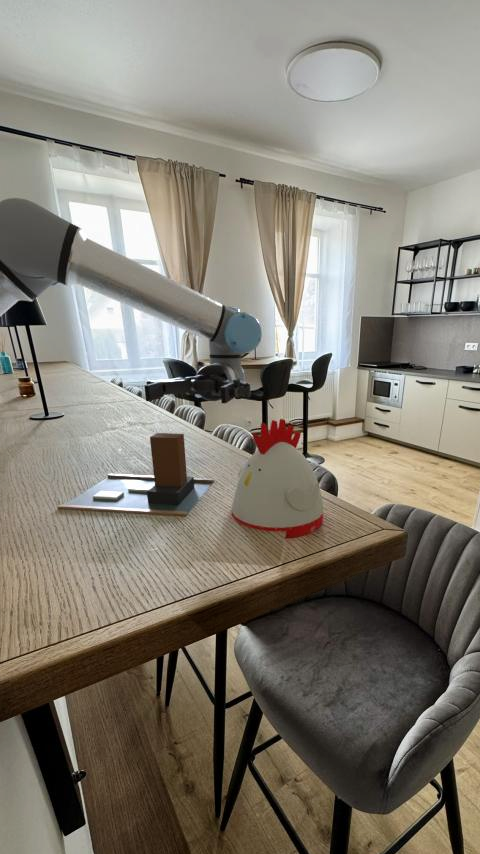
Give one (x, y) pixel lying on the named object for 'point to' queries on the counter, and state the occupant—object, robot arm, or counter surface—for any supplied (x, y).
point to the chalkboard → (134, 497)
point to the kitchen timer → (278, 486)
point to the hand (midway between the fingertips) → (184, 394)
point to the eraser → (169, 470)
